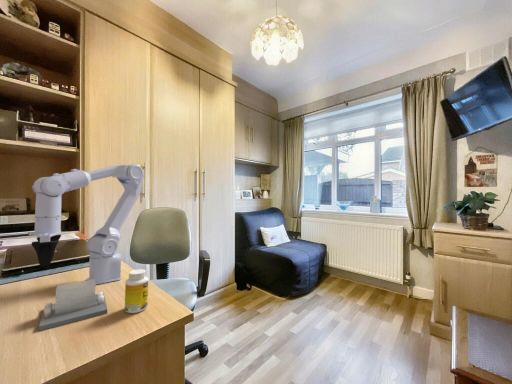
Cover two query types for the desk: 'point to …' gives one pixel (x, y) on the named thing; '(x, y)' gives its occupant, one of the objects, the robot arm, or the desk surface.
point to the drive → (75, 296)
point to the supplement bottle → (136, 291)
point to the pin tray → (71, 313)
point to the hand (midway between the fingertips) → (46, 262)
